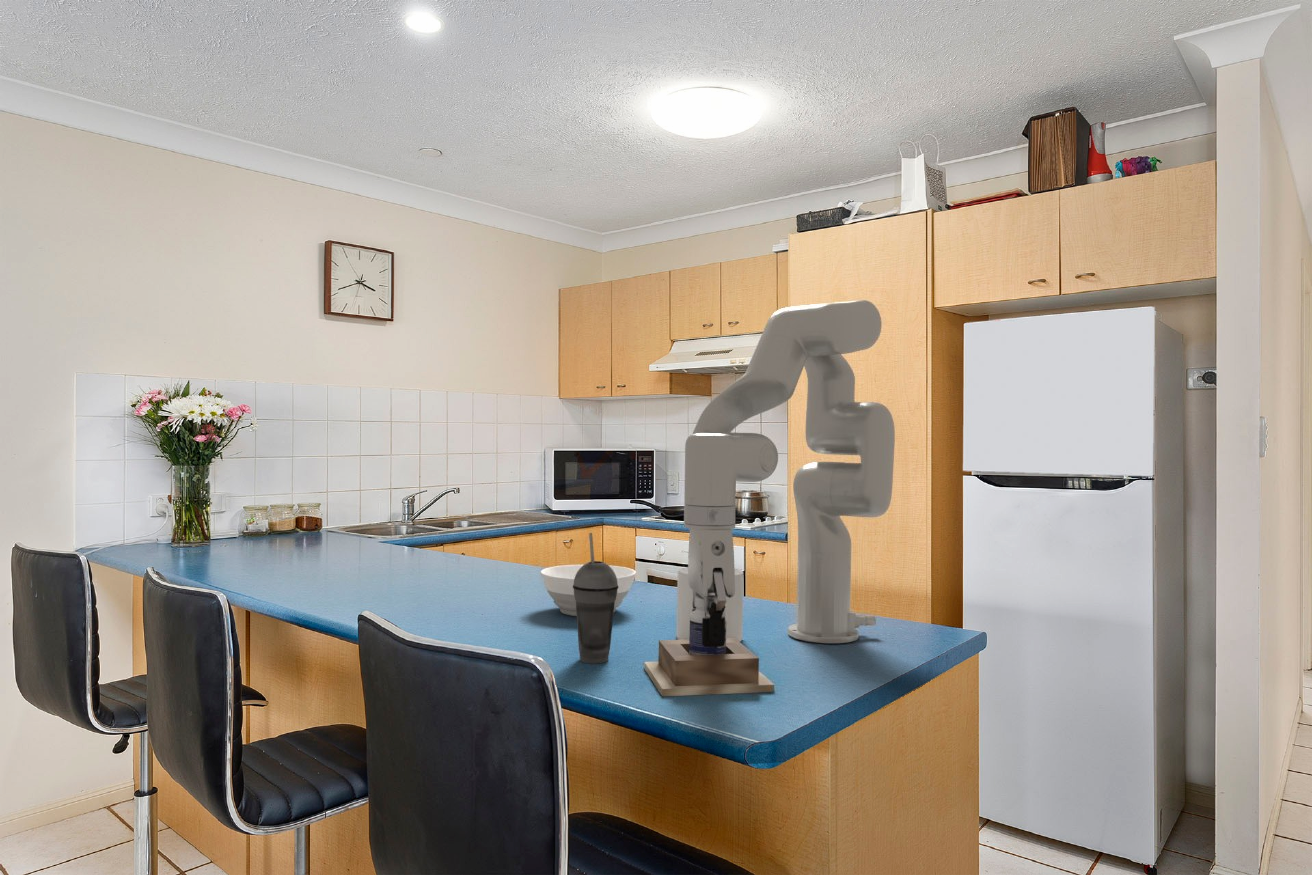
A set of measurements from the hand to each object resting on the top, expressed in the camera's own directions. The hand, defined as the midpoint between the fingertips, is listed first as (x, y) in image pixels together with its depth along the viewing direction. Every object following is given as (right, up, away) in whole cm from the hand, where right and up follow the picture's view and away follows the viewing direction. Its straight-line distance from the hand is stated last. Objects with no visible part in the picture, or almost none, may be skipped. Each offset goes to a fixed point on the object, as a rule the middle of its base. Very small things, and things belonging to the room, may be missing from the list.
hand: (707, 639), depth 120 cm
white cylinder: (+2, -6, +26) cm, 26 cm away
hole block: (0, -6, 0) cm, 6 cm away
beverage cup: (-17, -6, +10) cm, 21 cm away
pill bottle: (0, -4, 0) cm, 4 cm away
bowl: (-21, -6, +47) cm, 52 cm away
